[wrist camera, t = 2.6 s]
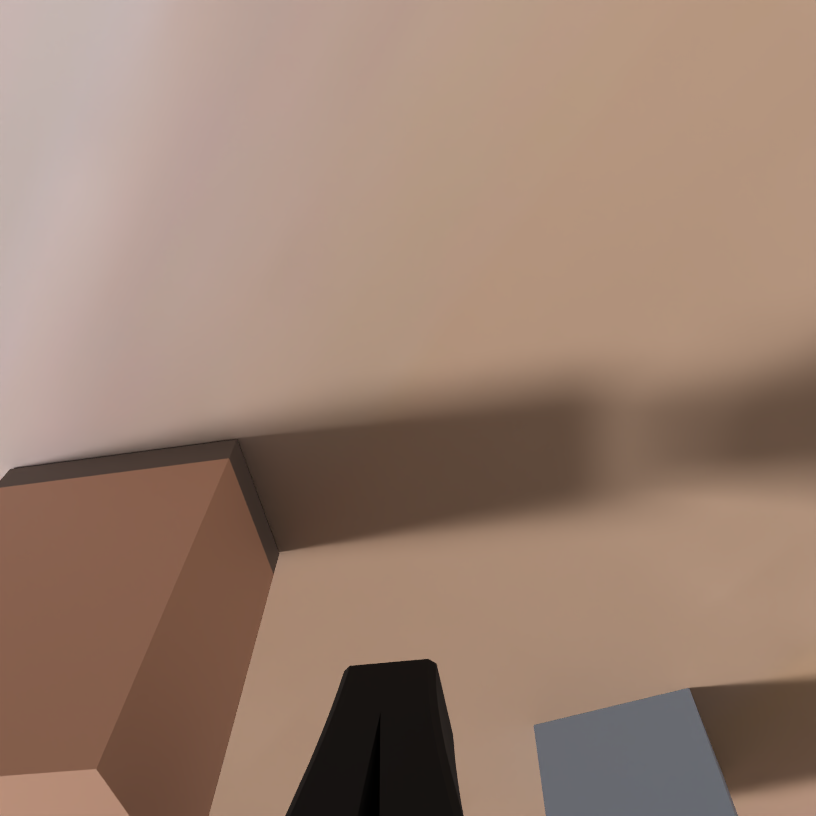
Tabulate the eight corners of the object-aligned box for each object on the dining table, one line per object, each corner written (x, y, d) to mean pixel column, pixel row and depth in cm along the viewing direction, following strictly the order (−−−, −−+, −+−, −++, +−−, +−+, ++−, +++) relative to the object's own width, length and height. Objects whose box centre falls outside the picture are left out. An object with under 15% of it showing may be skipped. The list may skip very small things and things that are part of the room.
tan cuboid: (279, 553, 17) (186, 896, 11) (73, 575, 17) (-130, 912, 11) (237, 439, 15) (95, 769, 9) (10, 468, 16) (-274, 796, 9)
